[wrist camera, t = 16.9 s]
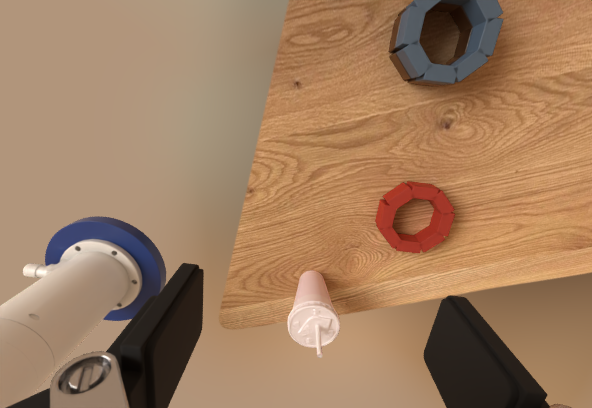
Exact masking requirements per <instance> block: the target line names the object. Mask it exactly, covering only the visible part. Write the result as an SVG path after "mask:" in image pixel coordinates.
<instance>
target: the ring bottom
mask: <svg viewBox="0 0 592 408" xmlns="http://www.w3.org/2000/svg"><path fill="white" fill-rule="evenodd" d="M430 10H436V11H443V12H450V14H451V15H452V17H453V19H454V21H455V23H456V25H457V27H458V29H459V30H460V32H461V33H460V37H459V41H458V44H457V48H456V52H455V55H454V57H453V58H452V59H451V60H449V61H448V62H447V63H445V64H444V65H449V66H450V65H451V64H452V63H454V62H455V61H456V60H458V59H459V58H460V57H462V56H463V55H464V54H466V51H467V47H468V44H469V40H470V36H471V33H472V29H473V26H472V24H471V22H470V20H469V18H468V16H467V14H466V12H465V10H464V8H463V7H462V5H456V4H448V3H441V2H438V3H437V4H436V5H435V6H433V7H432V8H431V9H430ZM405 11H406V8H405V9H404V10H403V11H401V12H400V13H399V14H398V16H399V17H398V18H397V19H396V20H395V22H394V27H393V32H392V37H391V42H390V47H389V52H394V53H393V54H392V55H391V56H390V59H391V60H392V62H393V64H394V65H395V67H396V69H397V70H398V72H399V74H400V75H401V77H402V78H403V80H407V79H408V83H412V84H419V85H427V86H440V85H439V84H432V83H424V82H417V81H416V78H411V77H410V75H409V74H408V72H407V70H406V69H405V67H404V65H403V64H402V62H401V61H400V59H399V57H398V56H397V54H396V53H397V52H398V51H399V50H401V49H399V48H395V47H396V42H397V37H398V32H399V28H400V23H401V18H402V14H403V13H404V12H405Z"/></svg>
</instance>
